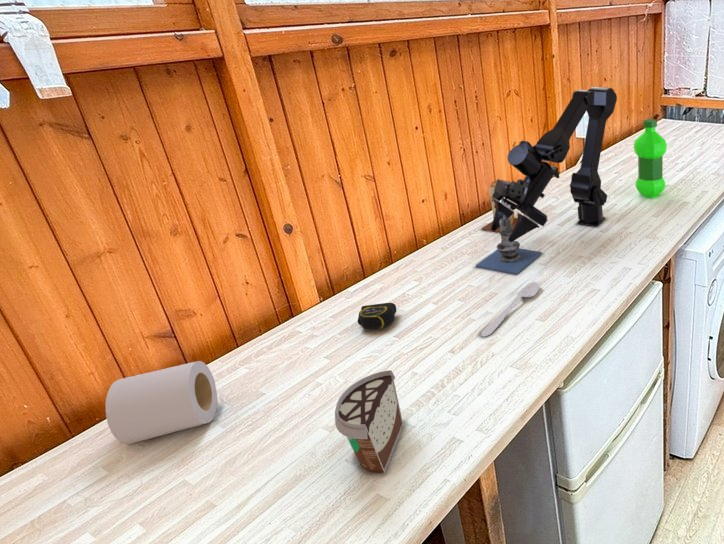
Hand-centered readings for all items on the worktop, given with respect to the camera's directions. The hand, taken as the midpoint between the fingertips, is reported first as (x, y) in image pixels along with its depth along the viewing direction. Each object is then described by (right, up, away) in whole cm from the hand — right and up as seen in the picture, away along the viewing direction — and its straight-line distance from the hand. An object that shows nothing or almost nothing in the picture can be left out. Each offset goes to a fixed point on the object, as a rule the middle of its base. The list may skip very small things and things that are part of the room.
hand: (500, 235), depth 129 cm
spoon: (+6, -16, -18) cm, 25 cm away
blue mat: (+1, -6, +4) cm, 8 cm away
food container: (-7, -33, -52) cm, 62 cm away
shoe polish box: (-5, +4, +26) cm, 27 cm away
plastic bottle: (+40, +14, +45) cm, 62 cm away
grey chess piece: (+1, -6, +4) cm, 7 cm away
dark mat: (-3, +3, +24) cm, 25 cm away
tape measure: (-21, -19, -20) cm, 35 cm away
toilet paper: (-42, -31, -46) cm, 69 cm away
